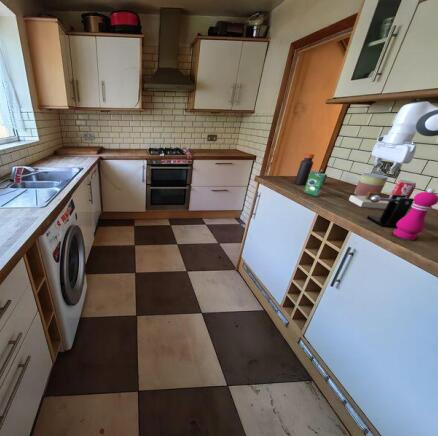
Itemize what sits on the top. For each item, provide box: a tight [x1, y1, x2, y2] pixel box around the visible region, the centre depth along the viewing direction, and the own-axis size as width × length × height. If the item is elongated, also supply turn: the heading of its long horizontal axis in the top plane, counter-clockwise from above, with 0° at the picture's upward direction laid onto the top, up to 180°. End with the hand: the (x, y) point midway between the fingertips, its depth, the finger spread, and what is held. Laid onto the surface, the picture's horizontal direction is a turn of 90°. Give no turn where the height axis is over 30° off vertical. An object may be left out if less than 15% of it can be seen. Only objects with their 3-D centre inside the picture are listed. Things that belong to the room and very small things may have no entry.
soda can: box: [388, 179, 417, 202], centre depth 121 cm, size 7×7×13 cm
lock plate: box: [348, 194, 389, 210], centre depth 122 cm, size 14×10×3 cm
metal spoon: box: [370, 195, 404, 203], centre depth 97 cm, size 13×3×3 cm, turn 81°
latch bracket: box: [366, 194, 414, 229], centre depth 99 cm, size 12×9×13 cm
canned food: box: [353, 172, 389, 196], centre depth 135 cm, size 11×11×12 cm
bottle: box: [294, 153, 315, 186], centre depth 151 cm, size 7×7×20 cm
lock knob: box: [365, 192, 381, 199], centre depth 121 cm, size 5×2×4 cm, turn 81°
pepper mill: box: [393, 187, 438, 241], centre depth 87 cm, size 7×7×20 cm
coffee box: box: [303, 170, 328, 197], centre depth 133 cm, size 8×3×13 cm, turn 26°
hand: (383, 168), depth 113 cm, fingers open, 8 cm apart
